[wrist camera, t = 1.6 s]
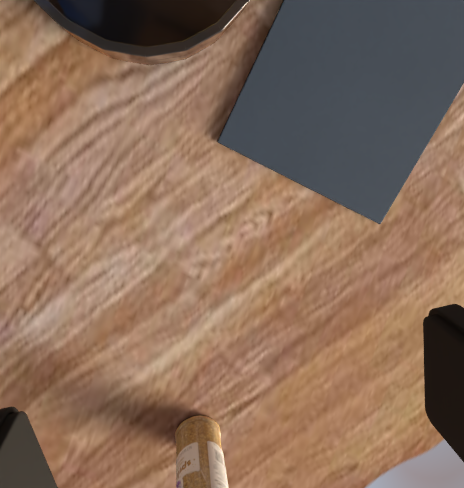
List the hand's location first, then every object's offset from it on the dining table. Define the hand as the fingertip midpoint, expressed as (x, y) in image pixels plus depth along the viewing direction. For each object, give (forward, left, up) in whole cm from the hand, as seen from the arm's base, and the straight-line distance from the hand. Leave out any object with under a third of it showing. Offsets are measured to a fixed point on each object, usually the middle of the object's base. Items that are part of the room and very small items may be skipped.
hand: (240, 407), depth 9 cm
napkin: (+8, +15, -25) cm, 30 cm away
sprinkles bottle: (+10, -21, -25) cm, 34 cm away
